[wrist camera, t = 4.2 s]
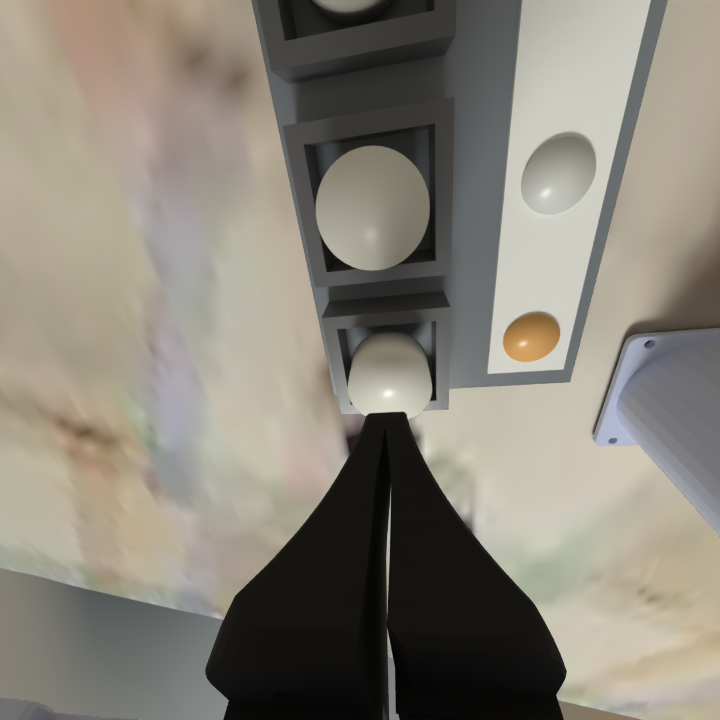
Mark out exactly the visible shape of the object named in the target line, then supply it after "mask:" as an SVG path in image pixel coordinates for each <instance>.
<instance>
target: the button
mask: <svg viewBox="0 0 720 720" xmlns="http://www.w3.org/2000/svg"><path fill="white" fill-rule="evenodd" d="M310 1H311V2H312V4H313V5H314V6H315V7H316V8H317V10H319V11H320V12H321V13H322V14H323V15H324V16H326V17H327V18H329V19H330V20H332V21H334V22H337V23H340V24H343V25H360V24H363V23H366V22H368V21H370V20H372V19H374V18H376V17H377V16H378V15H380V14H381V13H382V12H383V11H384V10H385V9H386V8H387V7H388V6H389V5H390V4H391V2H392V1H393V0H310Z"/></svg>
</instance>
